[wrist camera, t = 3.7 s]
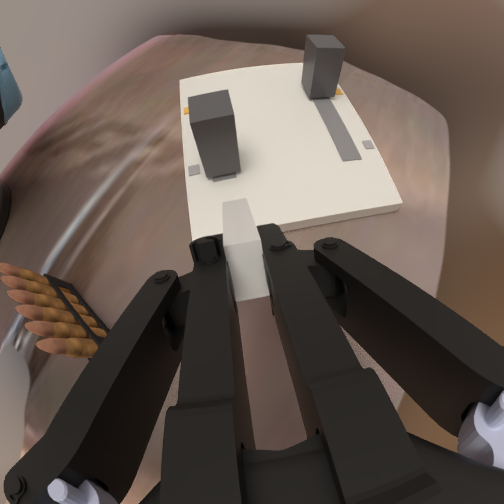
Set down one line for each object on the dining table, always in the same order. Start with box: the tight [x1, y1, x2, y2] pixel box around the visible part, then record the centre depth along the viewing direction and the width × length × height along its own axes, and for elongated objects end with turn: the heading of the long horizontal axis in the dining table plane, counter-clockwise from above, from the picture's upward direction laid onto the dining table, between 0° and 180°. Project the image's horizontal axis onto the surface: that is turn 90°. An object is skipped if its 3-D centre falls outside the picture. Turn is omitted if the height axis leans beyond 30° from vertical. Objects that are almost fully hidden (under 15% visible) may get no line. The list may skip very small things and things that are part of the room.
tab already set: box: [301, 35, 346, 98], centre depth 27 cm, size 4×4×8 cm
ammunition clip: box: [0, 263, 110, 361], centre depth 20 cm, size 11×2×12 cm, turn 53°
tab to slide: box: [188, 89, 241, 178], centre depth 24 cm, size 4×4×8 cm
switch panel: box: [180, 63, 402, 241], centre depth 31 cm, size 26×22×2 cm
